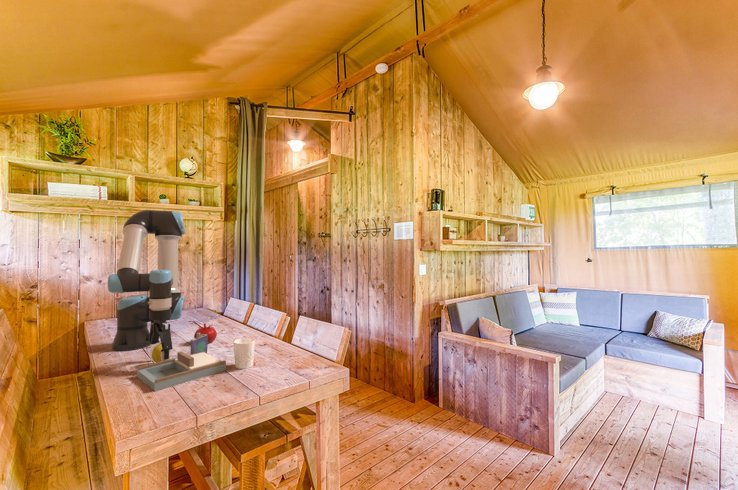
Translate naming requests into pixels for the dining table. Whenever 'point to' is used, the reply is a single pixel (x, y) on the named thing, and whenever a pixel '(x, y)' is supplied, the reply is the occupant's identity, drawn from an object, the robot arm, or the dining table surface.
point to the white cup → (244, 352)
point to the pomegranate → (207, 332)
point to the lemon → (157, 353)
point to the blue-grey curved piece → (199, 343)
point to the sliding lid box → (174, 373)
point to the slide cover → (195, 360)
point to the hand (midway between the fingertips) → (159, 363)
